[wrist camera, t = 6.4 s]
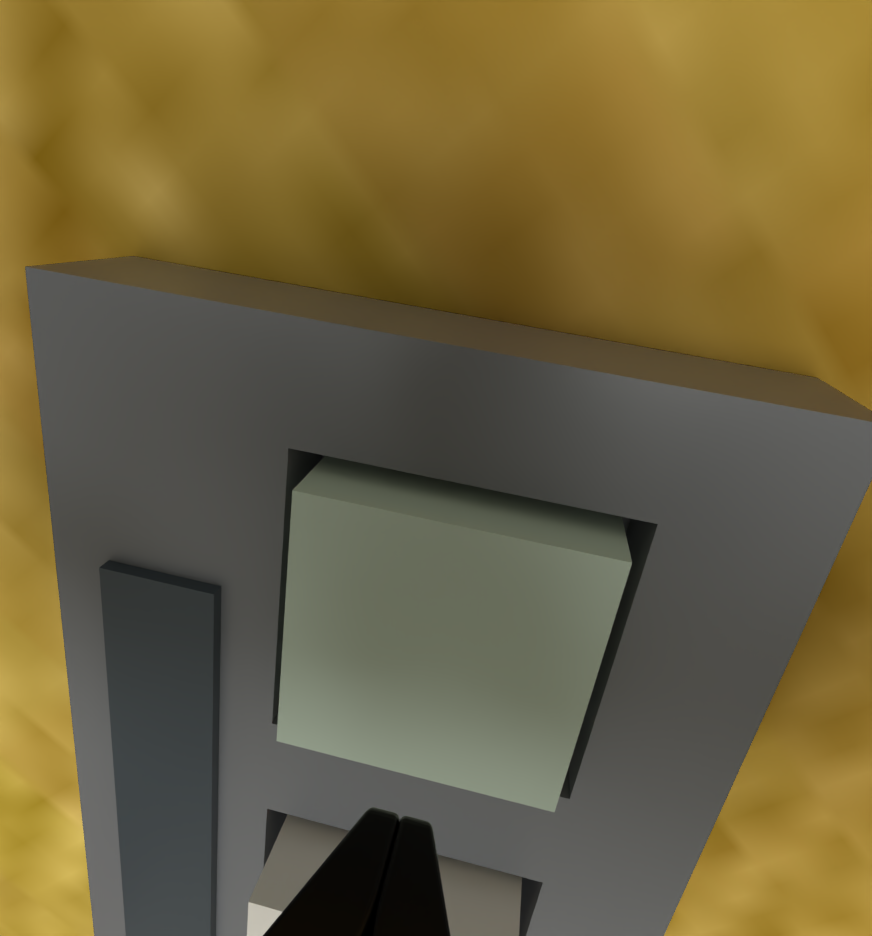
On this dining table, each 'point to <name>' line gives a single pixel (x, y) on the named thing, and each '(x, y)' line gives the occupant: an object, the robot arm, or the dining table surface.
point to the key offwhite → (464, 884)
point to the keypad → (432, 455)
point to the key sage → (445, 627)
